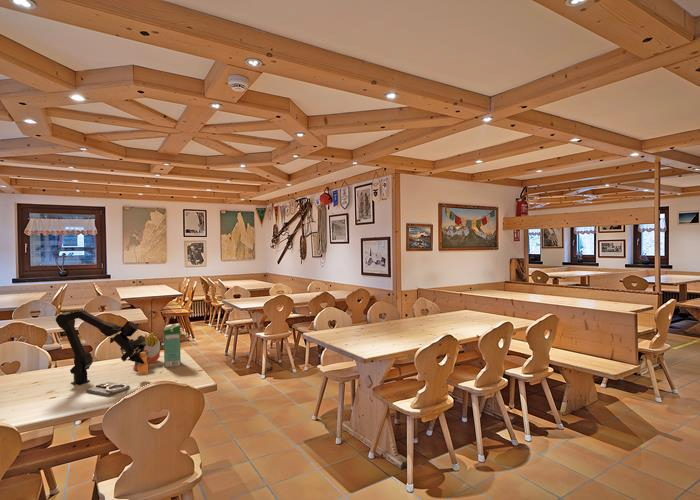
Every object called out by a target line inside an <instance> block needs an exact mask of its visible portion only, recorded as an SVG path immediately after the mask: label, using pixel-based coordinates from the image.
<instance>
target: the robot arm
mask: <svg viewBox="0 0 700 500" xmlns="http://www.w3.org/2000/svg"><path fill="white" fill-rule="evenodd" d="M76 319H80V320H81V321H83V322H85V323H87V324H89V325H91V326H93V327H94V328H96V329H98V330H99V331H100V333H101V334H103V335H104V336H105V337H108V338H109V337H110V338H109V344H112V343H114V342H115V343H116V344H117V345H118V346H119V347H120V348H119V349H120V350H121V351H122V350H123V351H124V353H123V354H122V355H121V357H120V360H121V361H122V362H125V361H131V362H134V363H135V362H137V363H141V364H144V361H143V360H142V359H141V358H140V352H144V347H145V346H146V344H145V343H143V342H145V337H144V336H145V335H144V336H143V335H142V334H141V335H138V336H137V338H136V339H130V337H132V336H133V334H135V333H136V332H137V331H138V330H139V326H138V324H136V323H135V322H132V321H131V320H128V321H126V323H125V324H124V325H123V326H121V325H118V324H116V323H112V322H109V321H106V320H105V321H104V320H103V319H100V318H99V317H97V316H95V315H93V314H91V313H90V312H88V311H86V310H84V309H80V310H77V311H75V312H70V311H67V312H63V313H60V314H58V315H57V316H56V318H55V322H56V324H57V326H58V327H59V328H60V329H62V330H63V331H64V333H65V335H66V338H67V341H68V343H69V345H70V347H71V350H72V353H73V355H74V356H73V357H74V358H73V363H74V366H73V367H72V368H71V369H69V371H70V374H71V375H72V374H73V381H71V382H70V384H72V385H79V386H80V385H83V384H85V383H88V382H89V383H90V381H91V379H90V380H89V379H88V371H87V370H89V369H90V367H91V365H92V364H93V362H94V361H93V360H94V357H93V356H92V353H91V351H89V352H87V351H85V349H84V346H83V344H82V341H81V338H80V336H79V334H78V332H77V330H76V328H75V325H76ZM147 361H148V359H147Z"/></svg>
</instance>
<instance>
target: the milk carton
mask: <svg viewBox="0 0 700 500" xmlns="http://www.w3.org/2000/svg"><path fill="white" fill-rule="evenodd" d="M163 350H164V351H163V353H164V354H163V355H164V356H163V359H164V361H163V363H164V364H163V365H164V368H174V367H180V366H182V364H181V363H182V362H181V324H180V322H179V323H175V324H168V325H165V327H163Z"/></svg>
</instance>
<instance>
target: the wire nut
mask: <svg viewBox="0 0 700 500" xmlns="http://www.w3.org/2000/svg"><path fill="white" fill-rule="evenodd" d="M140 358H141V359H142V360H143V361H144V364H141V363H139V364H138V370H137V376H139V377H143V376H144V377H145V376H147V375H148V374H149V367H148V365H149V364H148V363H147V355H146V352H140Z"/></svg>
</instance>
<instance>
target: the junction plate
mask: <svg viewBox="0 0 700 500" xmlns="http://www.w3.org/2000/svg"><path fill="white" fill-rule="evenodd" d="M130 388H131V387H130V385H129V384H126V383H116V382H111V381H107V382H103V383H99V384H97V385H94V386H93V387H89V388H86V389H85V393H88V394H94V395H99V396H104V397H111V396H113V395H116V394H119V393H121V392H124V391H126V390H129V389H130Z"/></svg>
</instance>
